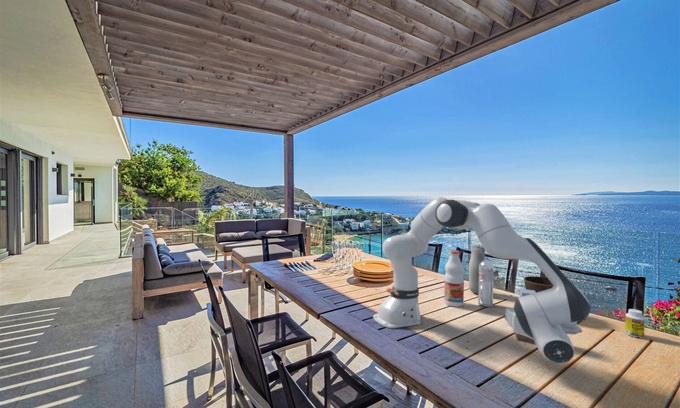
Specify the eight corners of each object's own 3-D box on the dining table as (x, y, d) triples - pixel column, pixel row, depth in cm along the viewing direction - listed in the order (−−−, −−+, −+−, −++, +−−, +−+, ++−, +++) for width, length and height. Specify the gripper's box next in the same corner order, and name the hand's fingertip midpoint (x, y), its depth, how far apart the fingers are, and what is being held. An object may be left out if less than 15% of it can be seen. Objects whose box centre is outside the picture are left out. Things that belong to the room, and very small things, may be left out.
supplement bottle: (630, 337, 117) (631, 312, 117) (621, 331, 122) (622, 307, 122) (647, 339, 115) (648, 314, 115) (638, 333, 121) (639, 308, 120)
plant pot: (524, 315, 138) (525, 282, 137) (522, 305, 151) (522, 274, 151) (564, 322, 131) (564, 287, 130) (557, 310, 144) (558, 278, 144)
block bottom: (541, 344, 112) (541, 333, 112) (517, 340, 116) (517, 329, 115) (536, 335, 120) (536, 324, 119) (514, 331, 123) (514, 321, 123)
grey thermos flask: (488, 292, 171) (488, 244, 170) (486, 297, 162) (486, 247, 161) (469, 289, 176) (470, 243, 175) (467, 294, 167) (467, 245, 166)
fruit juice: (453, 299, 160) (454, 248, 158) (467, 305, 151) (468, 251, 150) (440, 302, 156) (440, 250, 155) (453, 308, 147) (454, 253, 146)
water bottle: (494, 308, 147) (495, 259, 146) (480, 307, 149) (481, 258, 148) (490, 303, 154) (491, 256, 153) (476, 302, 155) (477, 255, 154)
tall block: (536, 319, 114) (537, 294, 113) (521, 317, 116) (522, 292, 115) (533, 314, 118) (534, 290, 118) (519, 312, 120) (520, 288, 120)
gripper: (584, 323, 89) (569, 307, 102) (508, 313, 97) (503, 299, 110) (584, 343, 89) (569, 324, 102) (508, 331, 97) (502, 315, 110)
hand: (534, 311), depth 106 cm, fingers open, 8 cm apart
